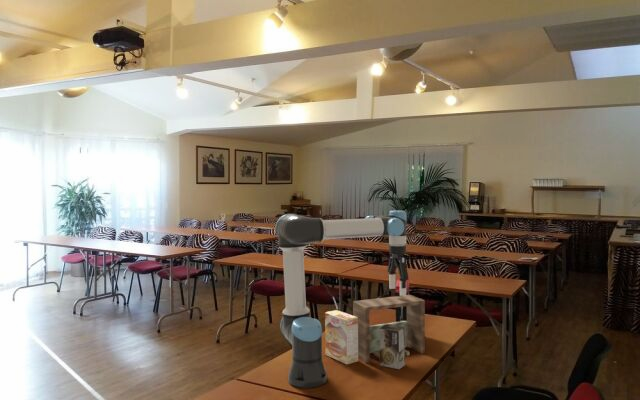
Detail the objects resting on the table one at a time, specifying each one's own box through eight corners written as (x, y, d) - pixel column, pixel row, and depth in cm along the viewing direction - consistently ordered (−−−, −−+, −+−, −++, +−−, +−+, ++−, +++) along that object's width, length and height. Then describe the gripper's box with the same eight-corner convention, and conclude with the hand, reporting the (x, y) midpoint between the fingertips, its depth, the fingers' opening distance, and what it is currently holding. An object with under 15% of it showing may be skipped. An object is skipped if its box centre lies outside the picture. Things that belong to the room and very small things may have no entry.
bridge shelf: (365, 363, 204) (365, 307, 203) (353, 353, 215) (352, 301, 214) (424, 353, 215) (424, 300, 214) (410, 344, 226) (410, 294, 225)
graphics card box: (409, 342, 229) (409, 286, 228) (395, 342, 230) (394, 286, 229) (410, 331, 246) (409, 279, 245) (396, 331, 247) (396, 279, 246)
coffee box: (405, 364, 202) (405, 327, 201) (399, 369, 196) (399, 331, 196) (385, 360, 207) (385, 323, 206) (379, 365, 201) (378, 327, 201)
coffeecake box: (324, 355, 214) (324, 312, 213) (337, 351, 218) (336, 309, 218) (346, 365, 202) (346, 319, 201) (359, 361, 206) (358, 316, 206)
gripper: (416, 248, 202) (416, 297, 203) (396, 241, 227) (395, 285, 227) (399, 248, 201) (399, 298, 201) (380, 241, 225) (380, 286, 226)
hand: (397, 291), depth 214 cm, fingers open, 13 cm apart
